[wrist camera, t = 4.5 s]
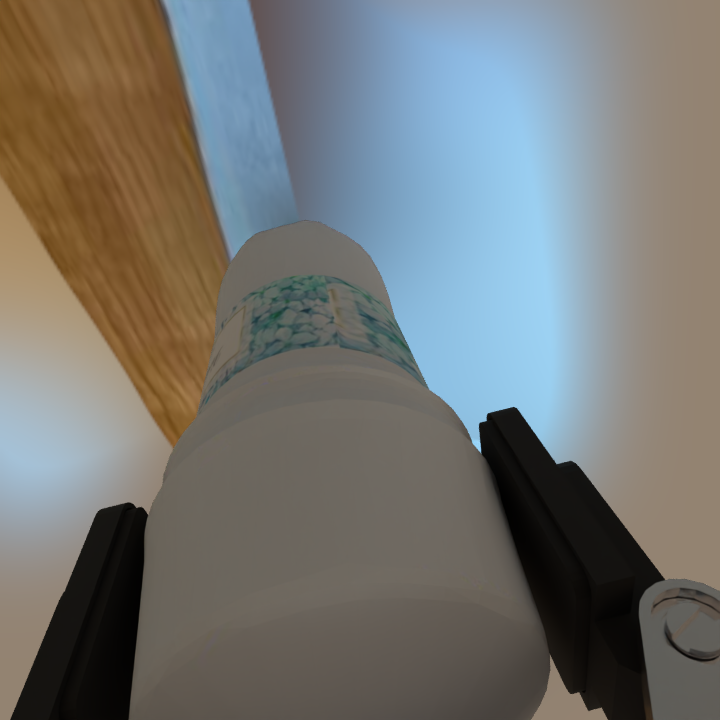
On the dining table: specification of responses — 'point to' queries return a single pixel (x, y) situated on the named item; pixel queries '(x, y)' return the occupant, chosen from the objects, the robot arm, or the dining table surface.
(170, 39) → the dining table surface
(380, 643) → the bottle
